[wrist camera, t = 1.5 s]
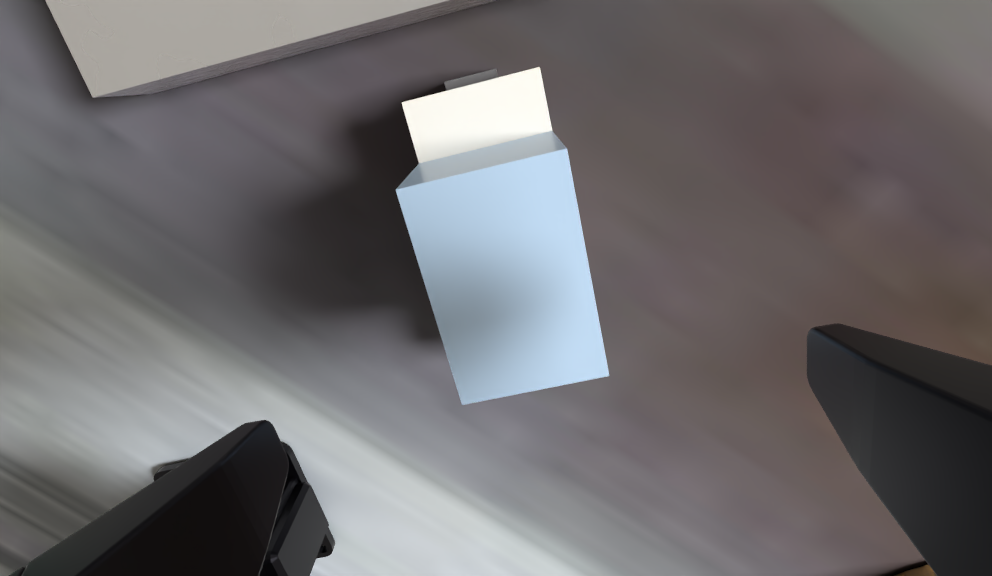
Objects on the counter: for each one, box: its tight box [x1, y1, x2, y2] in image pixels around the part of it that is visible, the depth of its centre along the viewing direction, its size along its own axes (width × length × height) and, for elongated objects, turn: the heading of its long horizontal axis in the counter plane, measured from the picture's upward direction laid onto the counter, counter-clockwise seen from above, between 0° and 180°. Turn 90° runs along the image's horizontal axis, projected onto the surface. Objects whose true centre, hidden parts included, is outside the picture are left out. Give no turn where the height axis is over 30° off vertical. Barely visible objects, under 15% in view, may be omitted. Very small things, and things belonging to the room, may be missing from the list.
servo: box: [396, 67, 609, 405], centre depth 17 cm, size 4×10×8 cm, turn 13°
